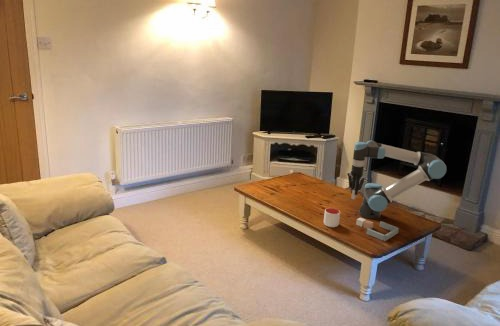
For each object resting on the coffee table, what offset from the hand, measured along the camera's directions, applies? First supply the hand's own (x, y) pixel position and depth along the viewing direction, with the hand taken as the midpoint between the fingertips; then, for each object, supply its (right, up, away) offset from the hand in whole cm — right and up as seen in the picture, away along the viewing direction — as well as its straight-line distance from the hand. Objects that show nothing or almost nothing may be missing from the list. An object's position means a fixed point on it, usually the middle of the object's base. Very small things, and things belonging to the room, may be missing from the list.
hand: (353, 198), depth 278 cm
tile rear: (+5, -18, 0) cm, 18 cm away
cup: (-16, -17, -2) cm, 24 cm away
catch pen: (+16, -22, -11) cm, 29 cm away
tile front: (+9, -19, -4) cm, 21 cm away
